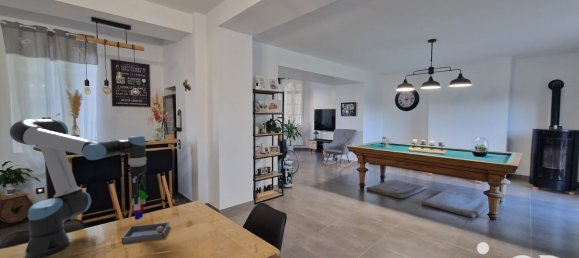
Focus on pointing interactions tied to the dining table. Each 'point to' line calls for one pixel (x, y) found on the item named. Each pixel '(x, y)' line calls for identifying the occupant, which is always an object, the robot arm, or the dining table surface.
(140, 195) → the toy
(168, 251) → the dining table surface
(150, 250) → the dining table surface
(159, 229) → the ball
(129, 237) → the tray
